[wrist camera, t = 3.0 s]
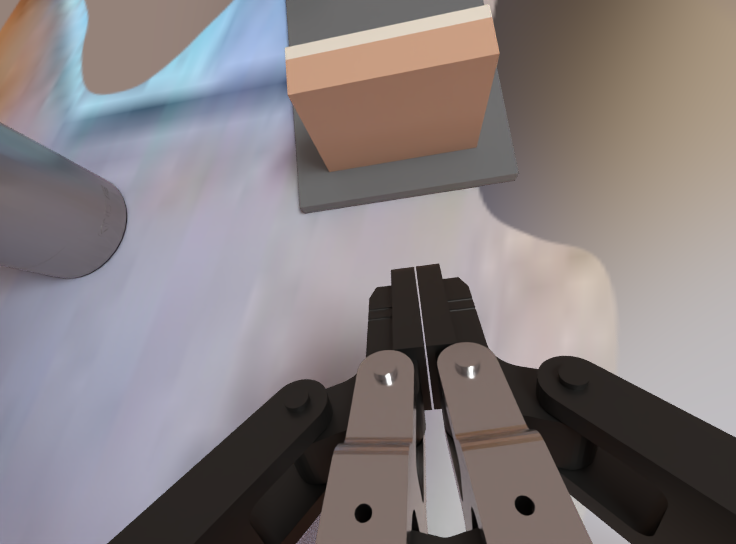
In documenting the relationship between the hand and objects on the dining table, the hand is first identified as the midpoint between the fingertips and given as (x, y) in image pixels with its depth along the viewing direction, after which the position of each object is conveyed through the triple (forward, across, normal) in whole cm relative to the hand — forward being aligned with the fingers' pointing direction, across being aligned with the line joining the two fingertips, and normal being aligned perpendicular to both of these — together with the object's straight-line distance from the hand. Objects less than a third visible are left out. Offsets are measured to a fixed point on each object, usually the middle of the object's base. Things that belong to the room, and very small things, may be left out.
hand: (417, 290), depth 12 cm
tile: (+20, 0, 0) cm, 20 cm away
